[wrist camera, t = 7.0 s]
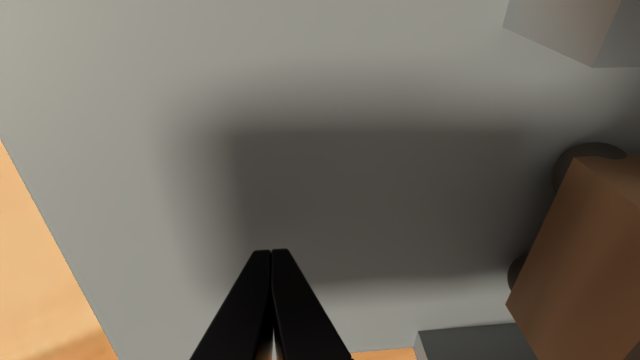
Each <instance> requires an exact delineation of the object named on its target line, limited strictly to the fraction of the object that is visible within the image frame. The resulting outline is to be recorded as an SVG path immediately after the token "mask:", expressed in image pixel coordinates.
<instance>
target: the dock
mask: <svg viewBox="0 0 640 360" xmlns="http://www.w3.org/2000/svg"><path fill="white" fill-rule="evenodd" d="M0 139H1V141H2V143H3V145H4V147H5V149H6V151H7V152H8V154H9V156H10V158H11V160H12V162H13V164H14V165H15V167H16V169H17V171H18V173H19V175H20V177H21V178H22V180H23V182H24V184H25V186H26V188H27V190H28V191H29V193H30V195H31V197H32V199H33V201H34V203H35V204H36V206H37V208H38V210H39V212H40V214H41V216H42V217H43V219H44V221H45V223H46V225H47V227H48V229H49V230H50V232H51V234H52V236H53V238H54V240H55V242H56V243H57V245H58V247H59V249H60V251H61V253H62V255H63V256H64V258H65V260H66V262H67V264H68V266H69V268H70V269H71V271H72V273H73V275H74V277H75V279H76V281H77V282H78V284H79V286H80V288H81V290H82V292H83V294H84V295H85V297H86V299H87V301H88V303H89V305H90V307H91V309H92V310H93V312H94V314H95V316H96V318H97V320H98V322H99V323H100V325H101V327H102V329H103V331H104V333H105V335H106V336H107V338H108V340H109V342H110V344H111V346H112V348H113V349H114V351H115V353H116V355H117V357H118V359H119V360H189V359H190V357H191V356H192V354H193V352H194V351H195V349H196V347H197V346H198V344H199V342H200V340H201V339H202V337H203V335H204V334H205V332H206V330H207V329H208V327H209V325H210V323H211V322H212V320H213V318H214V317H215V315H216V313H217V312H218V310H219V308H220V306H221V305H222V303H223V301H224V300H225V298H226V296H227V295H228V293H229V291H230V290H231V288H232V286H233V284H234V283H235V281H236V279H237V278H238V276H239V274H240V273H241V271H242V269H243V267H244V266H245V264H246V262H247V261H248V259H249V257H250V256H251V254H252V252H253V251H255V250H265V249H269V250H270V251H272V250H273V249H282V248H287V249H288V250H289V251H290V253H291V254H292V256H293V258H294V259H295V261H296V263H297V264H298V266H299V268H300V269H301V271H302V273H303V275H304V276H305V278H306V280H307V281H308V283H309V285H310V286H311V288H312V290H313V292H314V293H315V295H316V297H317V298H318V300H319V302H320V303H321V305H322V307H323V309H324V310H325V312H326V314H327V315H328V317H329V319H330V320H331V322H332V324H333V325H334V327H335V329H336V331H337V332H338V334H339V336H340V337H341V339H342V341H343V342H344V344H345V346H346V348H347V349H348V351H349V353H355V352H366V351H378V350H389V349H400V348H412V347H413V349H414V352H415V355H416V358H417V360H538V358H537V357H536V355H535V353H534V352H533V350H532V348H531V347H530V345H529V343H528V342H527V340H526V338H525V337H524V335H523V334H522V332H521V330H520V329H519V327H518V325H517V324H516V322H515V320H514V319H513V317H512V315H511V314H510V312H509V310H508V309H507V307H506V305H505V303H506V301H507V299H508V297H509V295H510V293H511V290H510V288H509V285H508V281H507V274H508V270H509V267H510V265H511V264H512V262H513V261H514V260H515V259H517V258H518V257H520V256H521V255H524V254H527V253H529V252H530V250H531V248H532V245H533V243H534V241H535V239H536V237H537V235H538V233H539V230H540V228H541V226H542V224H543V222H544V220H545V218H546V215H547V213H548V211H549V209H550V207H551V205H552V203H553V200H554V198H555V196H556V194H557V193H556V191H555V190H554V187H553V184H552V170H553V167H554V164H555V162H556V161H557V159H558V158H559V157H560V156H561V155H562V154H563V153H564V152H565V151H567V150H568V149H570V148H572V147H574V146H576V145H579V144H583V143H589V142H602V143H607V144H611V145H613V146H616V147H618V148H620V149H621V150H623V151H624V152H626V153H627V154H640V0H0ZM276 359H277V357H276V350H275V342H274V338H273V352H272V360H276Z"/></svg>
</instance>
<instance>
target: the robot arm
mask: <svg viewBox="0 0 640 360" xmlns="http://www.w3.org/2000/svg"><path fill="white" fill-rule="evenodd" d="M273 338H274V342H275V350H276V357H277V360H354V359H351V354H350V353H349V351H348V349H347V348H346V346H345V344H344V342H343V341H342V339H341V337H340V336H339V334H338V332H337V331H336V329H335V327H334V325H333V324H332V322H331V320H330V319H329V317H328V315H327V314H326V312H325V310H324V309H323V307H322V305H321V303H320V302H319V300H318V298H317V297H316V295H315V293H314V292H313V290H312V288H311V286H310V285H309V283H308V281H307V280H306V278H305V276H304V275H303V273H302V271H301V269H300V268H299V266H298V264H297V263H296V261H295V259H294V258H293V256H292V254H291V253H290V251H289V250H288V249H287V248H282V249H273V250H272V251H270V250H269V249H265V250H255V251H253V252H252V254H251V256H250V257H249V259H248V261H247V262H246V264H245V266H244V267H243V269H242V271H241V273H240V274H239V276H238V278H237V279H236V281H235V283H234V284H233V286H232V288H231V290H230V291H229V293H228V295H227V296H226V298H225V300H224V301H223V303H222V305H221V306H220V308H219V310H218V312H217V313H216V315H215V317H214V318H213V320H212V322H211V323H210V325H209V327H208V329H207V330H206V332H205V334H204V335H203V337H202V339H201V340H200V342H199V344H198V346H197V347H196V349H195V351H194V352H193V354H192V356H191V357H190V359H189V360H272V352H273Z"/></svg>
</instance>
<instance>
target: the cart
mask: <svg viewBox="0 0 640 360" xmlns="http://www.w3.org/2000/svg"><path fill="white" fill-rule="evenodd" d="M552 184H553V187H554V190H555V191H556V193H557V194H556V196H555V198H554V200H553V203H552V205H551V207H550V209H549V211H548V213H547V215H546V218H545V220H544V222H543V224H542V226H541V228H540V230H539V233H538V235H537V237H536V239H535V241H534V243H533V245H532V248H531V250H530V252H529V253H527V254H524V255H521V256H520V257H518V258H517V259H515V260H514V261H513V262H512V264H511V265H510V267H509V270H508V274H507V281H508V285H509V288H510V290H511V293H510V295H509V297H508V299H507V301H506V303H505V305H506V307H507V309H508V310H509V312H510V314H511V315H512V317H513V319H514V320H515V322H516V324H517V325H518V327H519V329H520V330H521V332H522V334H523V335H524V337H525V338H526V340H527V342H528V343H529V345H530V347H531V348H532V350H533V352H534V353H535V355H536V357H537V358H538V360H640V154H627V153H626V152H624V151H623V150H621V149H620V148H618V147H616V146H613V145H611V144H607V143H602V142H589V143H583V144H579V145H576V146H574V147H572V148H570V149H568V150H567V151H565V152H564V153H563V154H562V155H561V156H560V157H559V158H558V159H557V161H556V162H555V164H554V167H553V170H552Z"/></svg>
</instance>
